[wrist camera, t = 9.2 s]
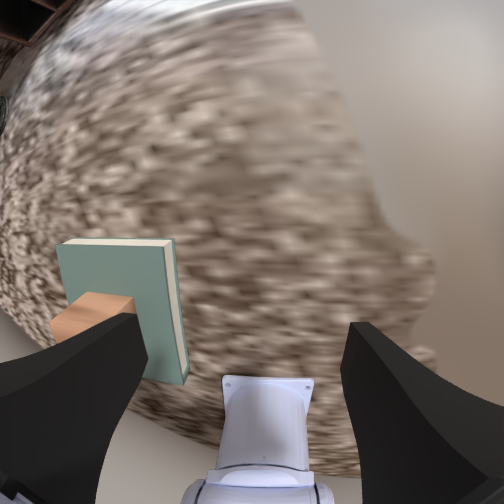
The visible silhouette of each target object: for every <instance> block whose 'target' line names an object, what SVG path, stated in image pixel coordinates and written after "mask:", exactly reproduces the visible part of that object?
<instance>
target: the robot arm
mask: <svg viewBox="0 0 504 504" xmlns="http://www.w3.org/2000/svg"><path fill="white" fill-rule="evenodd" d="M148 359H149V358H148V354H147V351H146V347H145V344H144V340H143V336H142V332H141V328H140V324H139V320H138V315H137V314H134V313H126V312H122V313H119V314H117V315H115V316H112V317H110V318H108V319H106V320H104V321H102V322H100V323H98V324H96V325H94V326H92V327H90V328H88V329H87V330H85V331H83V332H81V333H79V334H77V335H75V336H73V337H71V338H69V339H67V340H64V341H62V342H60V343H58V344H56V345H54V346H52V347H49V348H47V349H45V350H42V351H40V352H37V353H34V354H31V355H29V356H26V357H22V358H19V359H15V360H11V361H7V362H3V363H0V504H95V499H96V492H97V487H98V482H99V477H100V473H101V469H102V466H103V462H104V458H105V455H106V452H107V449H108V446H109V443H110V441H111V438H112V435H113V433H114V431H115V428H116V426H117V424H118V422H119V420H120V419H121V417H122V415H123V413H124V411H125V409H126V407H127V405H128V404H129V402H130V400H131V398H132V396H133V394H134V392H135V391H136V389H137V387H138V385H139V383H140V381H141V378H142V376H143V373H144V371H145V368H146V365H147V362H148ZM340 371H341V379H342V386H343V393H344V397H345V401H346V405H347V408H348V412H349V416H350V419H351V423H352V427H353V431H354V435H355V439H356V443H357V447H358V452H359V458H360V468H361V479H362V499H363V504H504V407H503V406H500V405H497V404H494V403H491V402H489V401H486V400H484V399H482V398H479V397H477V396H475V395H473V394H470V393H468V392H466V391H464V390H462V389H460V388H459V387H457V386H455V385H453V384H452V383H450V382H448V381H446V380H445V379H443V378H441V377H440V376H438V375H437V374H435V373H434V372H432V371H431V370H429V369H428V368H427V367H425V366H424V365H422V364H421V363H420V362H418V361H417V360H416V359H414V358H413V357H412V356H410V355H409V354H408V353H406V352H405V351H404V350H403V349H401V348H400V347H399V346H398V345H396V344H395V343H394V342H393V341H392V340H390V339H389V338H388V337H387V336H385V335H384V334H383V333H382V332H381V331H379V330H378V329H377V328H376V327H374V326H373V325H372V324H370V323H369V322H350V327H349V332H348V337H347V341H346V346H345V350H344V355H343V359H342V363H341V367H340ZM227 383H229V384H227ZM222 385H223V396H224V406H225V415H226V418H225V423H224V428H223V433H222V438H221V443H220V448H219V453H218V458H217V463H216V468H215V470H208V474H207V478H206V480H203V479H199V480H197V481H195V482H194V483H193V484H192V485H190V486H189V487H188V488H187V490H186V491H185V493H184V495H183V498H182V501H181V504H334V498H333V494H332V491H331V489H330V488H329V487H327V486H326V485H325V484H324V483H323V482H315V483H314V473H313V472H312V471H309V458H308V442H307V428H306V416H307V412H308V408H309V403H310V399H311V395H312V390H313V386H314V381H313V379H312V378H270V377H249V376H234V375H225V376H223V379H222ZM306 386H309V387H306Z"/></svg>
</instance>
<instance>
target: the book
mask: <svg viewBox="0 0 504 504" xmlns="http://www.w3.org/2000/svg"><path fill="white" fill-rule="evenodd" d="M56 251H57V257H58V262H59V267H60V271H61V276H62V280H63V284H64V288H65V292H66V296H67V300H68V303H69V306H70V305H71V304H72V303H73V302H75V301H76V300H77V299H78V298H80V297H81V296H82V295H83V294H85V293H86V292H94V293H102V294H111V295H119V296H129V297H134V302H135V307H136V312H137V315H138V320H139V324H140V328H141V332H142V336H143V340H144V344H145V347H146V351H147V354H148V358H149V359H148V362H147V365H146V368H145V371H144V373H143V376H142V378H145V379H150V380H155V381H160V382H165V383H171V384H177V385H184V383H185V381H186V378H187V375H188V373H189V370H190V365H189V359H188V353H187V346H186V340H185V333H184V326H183V319H182V311H181V303H180V295H179V286H178V276H177V265H176V254H175V241H174V239H173V238H72V240H69V241H67V242H65V243H63V244H56Z"/></svg>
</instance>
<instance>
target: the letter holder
mask: <svg viewBox="0 0 504 504" xmlns="http://www.w3.org/2000/svg"><path fill="white" fill-rule="evenodd" d="M75 1H76V0H0V38H2V39H5V40H9V41H13V42H16V43H19V44H22V45H24V46H27V47H31V46H32V45H33V44H34V43H35V42H36V41H37V40H38V38H39V37H40V36H41V35H42V34H43V33H44V32H45V31H46V29H47V28H48V27H49V26H50V25H51V24H52V23H53V22H54V21H55V20H56V19H57V18H58V17H59V16H60V15H61V14H62V13H63V12H64V11H65V10H66V9H67V8H68V7H69V6H70V5H71V4H72V3H74V2H75Z"/></svg>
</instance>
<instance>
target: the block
mask: <svg viewBox="0 0 504 504" xmlns="http://www.w3.org/2000/svg"><path fill="white" fill-rule="evenodd" d="M122 312H126V313H134V314H137V312H136V307H135V302H134V297H129V296H119V295H111V294H102V293H94V292H86V293H85V294H83V295H82V296H81V297H80V298H78V299H77V300H76V301H75V302H73V303H72V304H71V305H70V306H68V307H67V308H66V309H65V310H63V311H62V312H61V313H60V314H58V315H57V316H56V317H55V318H54V319H52V320H51V321H50V322H49V324H50V327H51V330H52V333H53V335H54V338H55V340H56V343H57V344H58V343H60V342H62V341H64V340H67V339H69V338H71V337H73V336H75V335H77V334H79V333H81V332H83V331H85V330H87V329H88V328H90V327H92V326H94V325H96V324H98V323H100V322H102V321H104V320H106V319H108V318H110V317H112V316H115V315H117V314H119V313H122Z"/></svg>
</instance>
